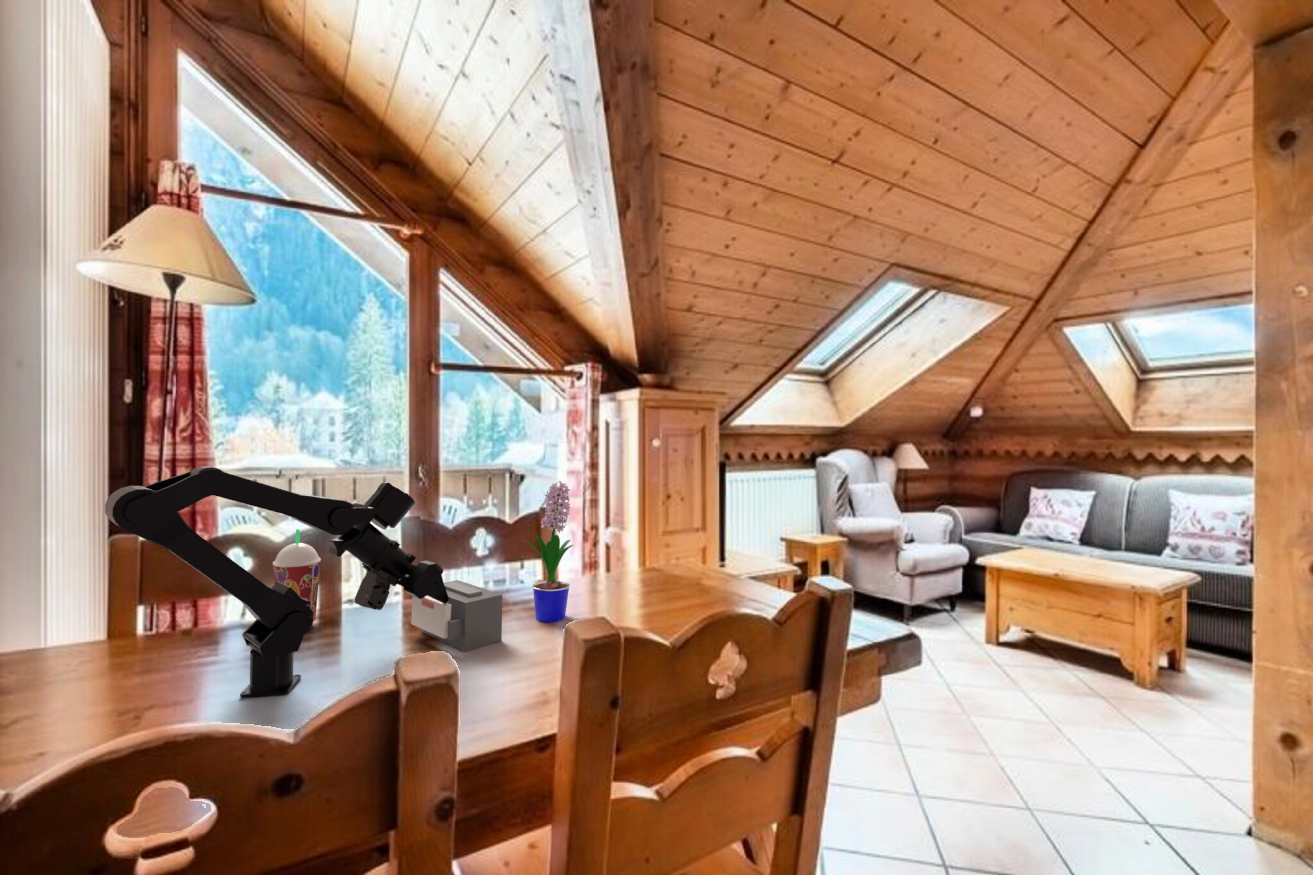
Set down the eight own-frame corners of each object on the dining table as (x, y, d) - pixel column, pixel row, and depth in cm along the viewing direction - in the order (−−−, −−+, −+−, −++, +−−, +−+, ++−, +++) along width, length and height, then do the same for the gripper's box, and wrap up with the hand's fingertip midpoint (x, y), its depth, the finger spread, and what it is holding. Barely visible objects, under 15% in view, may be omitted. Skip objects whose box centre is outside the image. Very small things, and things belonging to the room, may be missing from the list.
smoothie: (328, 622, 125) (330, 527, 125) (301, 636, 117) (302, 533, 117) (291, 620, 126) (292, 525, 126) (261, 633, 118) (262, 532, 117)
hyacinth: (521, 613, 134) (523, 479, 133) (567, 610, 137) (569, 479, 137) (524, 626, 125) (527, 483, 125) (573, 622, 128) (576, 482, 128)
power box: (452, 655, 108) (453, 602, 108) (409, 634, 119) (409, 586, 119) (501, 640, 116) (502, 591, 116) (456, 622, 127) (457, 577, 127)
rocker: (442, 638, 109) (444, 605, 109) (409, 624, 117) (411, 593, 117) (449, 637, 110) (451, 604, 110) (416, 622, 118) (418, 592, 118)
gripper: (319, 579, 107) (382, 623, 116) (366, 599, 95) (432, 647, 104) (363, 528, 113) (420, 574, 122) (412, 542, 101) (471, 592, 110)
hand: (434, 596), depth 114 cm, fingers open, 9 cm apart
